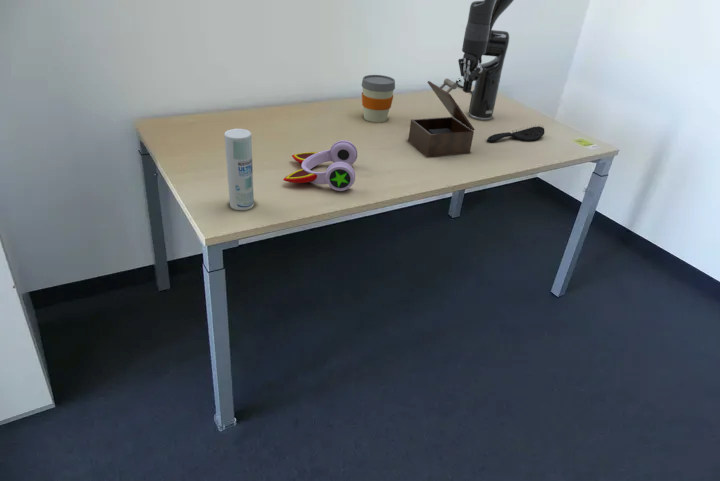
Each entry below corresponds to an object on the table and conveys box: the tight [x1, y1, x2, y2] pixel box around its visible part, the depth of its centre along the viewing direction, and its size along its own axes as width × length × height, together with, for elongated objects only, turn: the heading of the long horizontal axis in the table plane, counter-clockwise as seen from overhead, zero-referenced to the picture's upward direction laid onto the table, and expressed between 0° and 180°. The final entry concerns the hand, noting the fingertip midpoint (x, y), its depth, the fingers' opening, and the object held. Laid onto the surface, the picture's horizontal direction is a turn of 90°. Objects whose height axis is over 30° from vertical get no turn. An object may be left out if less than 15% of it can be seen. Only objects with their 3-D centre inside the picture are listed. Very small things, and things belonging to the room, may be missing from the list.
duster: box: [428, 128, 452, 134], centre depth 183 cm, size 8×4×5 cm, turn 112°
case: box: [407, 116, 475, 158], centre depth 182 cm, size 17×15×8 cm
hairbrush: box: [486, 124, 546, 143], centre depth 196 cm, size 8×4×25 cm
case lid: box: [427, 78, 476, 132], centre depth 177 cm, size 17×15×5 cm
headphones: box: [283, 139, 358, 192], centre depth 156 cm, size 20×10×20 cm
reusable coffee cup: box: [361, 74, 396, 123], centre depth 201 cm, size 13×13×15 cm
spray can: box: [223, 128, 255, 211], centre depth 135 cm, size 6×6×20 cm
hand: (466, 91), depth 177 cm, fingers closed
